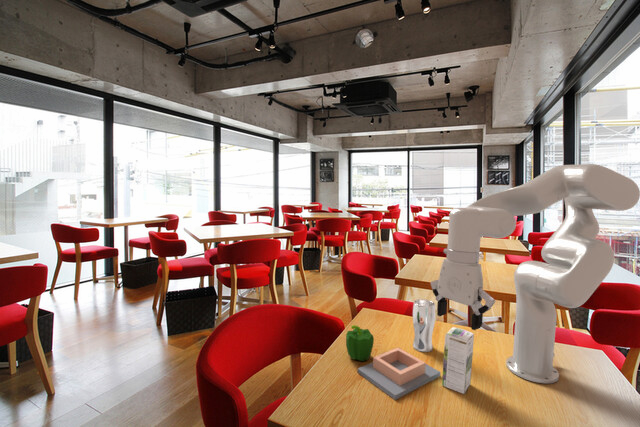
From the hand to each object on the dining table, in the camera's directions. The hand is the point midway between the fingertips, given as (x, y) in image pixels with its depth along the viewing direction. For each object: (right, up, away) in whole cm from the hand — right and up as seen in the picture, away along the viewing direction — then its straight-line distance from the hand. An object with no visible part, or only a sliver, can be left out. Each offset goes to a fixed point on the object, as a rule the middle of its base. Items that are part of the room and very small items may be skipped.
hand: (458, 321), depth 85 cm
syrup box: (0, -18, +2) cm, 18 cm away
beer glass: (-2, -16, +22) cm, 27 cm away
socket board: (-14, -17, +7) cm, 23 cm away
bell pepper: (-24, -16, +16) cm, 33 cm away
